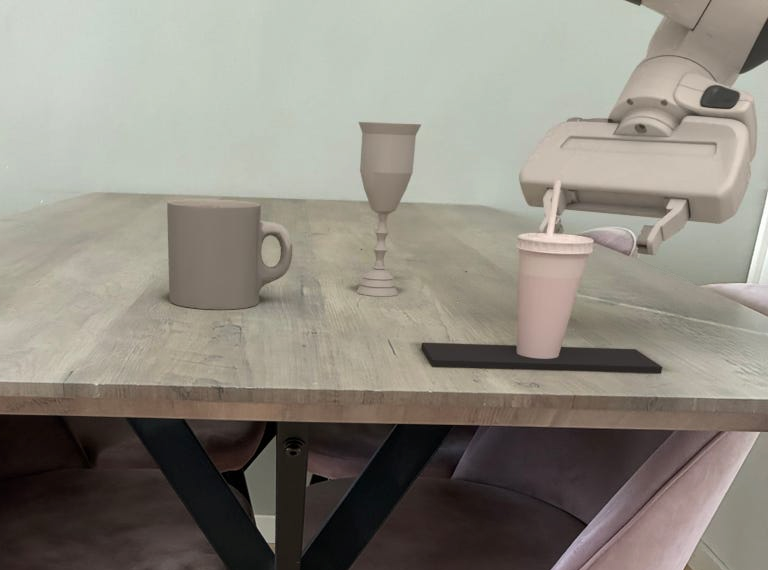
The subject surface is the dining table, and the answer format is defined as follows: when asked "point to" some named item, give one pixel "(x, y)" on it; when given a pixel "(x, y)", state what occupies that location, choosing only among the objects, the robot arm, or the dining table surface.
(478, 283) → the dining table surface
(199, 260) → the coffee mug
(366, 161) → the chalice
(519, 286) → the smoothie
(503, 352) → the edge strip
